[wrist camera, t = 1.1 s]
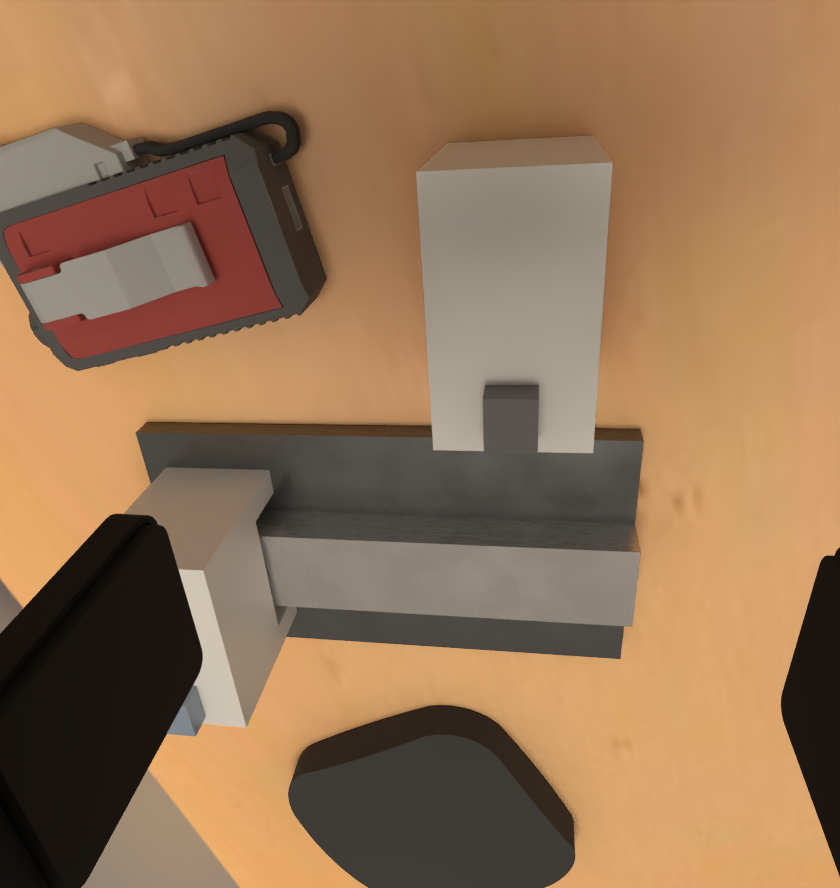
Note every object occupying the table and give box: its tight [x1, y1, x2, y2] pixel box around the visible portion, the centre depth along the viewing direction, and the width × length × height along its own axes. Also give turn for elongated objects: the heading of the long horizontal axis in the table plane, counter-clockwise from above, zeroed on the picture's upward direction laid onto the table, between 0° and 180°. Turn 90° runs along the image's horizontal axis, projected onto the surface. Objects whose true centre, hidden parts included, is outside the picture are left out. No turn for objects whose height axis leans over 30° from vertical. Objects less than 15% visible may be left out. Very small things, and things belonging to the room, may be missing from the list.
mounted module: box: [124, 467, 297, 736], centre depth 30 cm, size 8×5×8 cm, turn 4°
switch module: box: [416, 135, 613, 454], centre depth 22 cm, size 9×5×8 cm, turn 4°
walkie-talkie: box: [0, 111, 327, 371], centre depth 26 cm, size 9×4×20 cm
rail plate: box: [136, 422, 644, 659], centre depth 32 cm, size 12×22×3 cm, turn 94°
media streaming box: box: [288, 706, 575, 888], centre depth 41 cm, size 15×15×3 cm
